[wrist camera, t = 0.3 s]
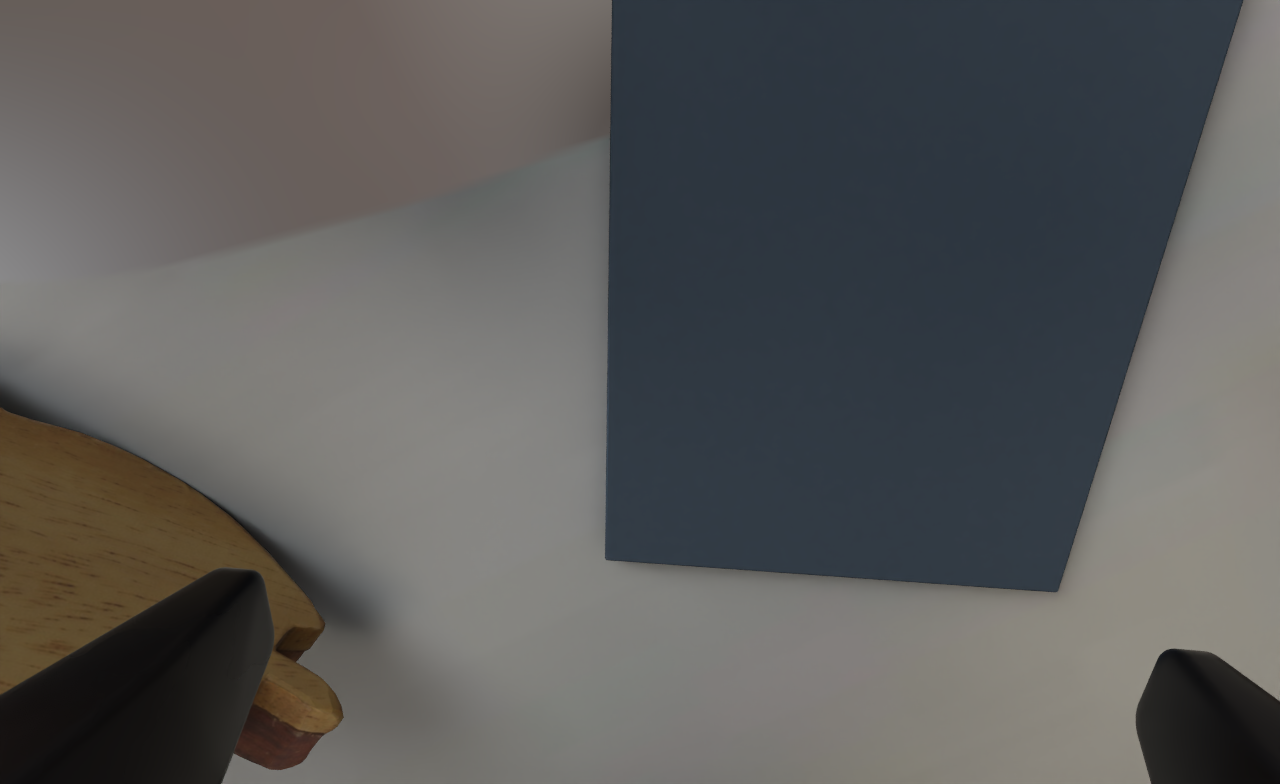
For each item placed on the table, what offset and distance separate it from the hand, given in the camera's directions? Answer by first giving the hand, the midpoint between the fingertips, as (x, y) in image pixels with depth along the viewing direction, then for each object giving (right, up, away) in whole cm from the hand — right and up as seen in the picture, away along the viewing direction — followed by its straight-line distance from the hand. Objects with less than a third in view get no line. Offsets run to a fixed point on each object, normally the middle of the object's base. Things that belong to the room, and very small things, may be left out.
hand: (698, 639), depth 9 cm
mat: (+5, +6, +13) cm, 15 cm away
